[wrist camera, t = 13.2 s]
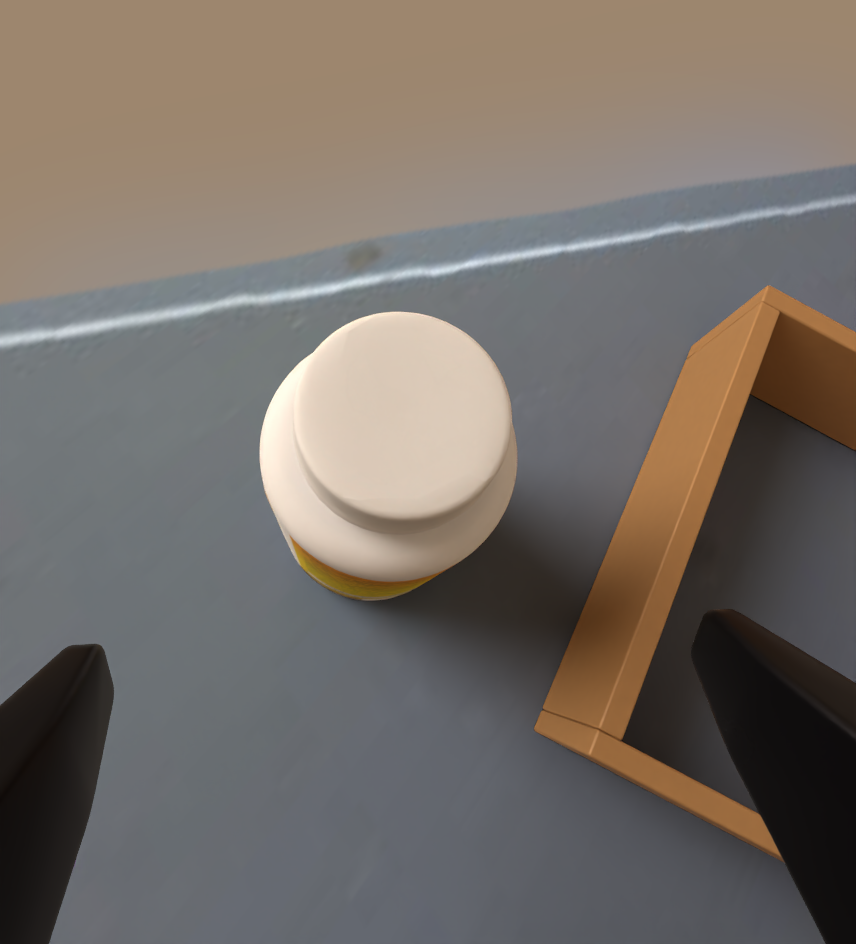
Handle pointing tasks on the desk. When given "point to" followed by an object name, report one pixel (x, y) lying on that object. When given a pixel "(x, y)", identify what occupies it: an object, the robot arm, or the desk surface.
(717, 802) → the storage box
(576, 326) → the desk surface
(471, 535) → the supplement bottle
